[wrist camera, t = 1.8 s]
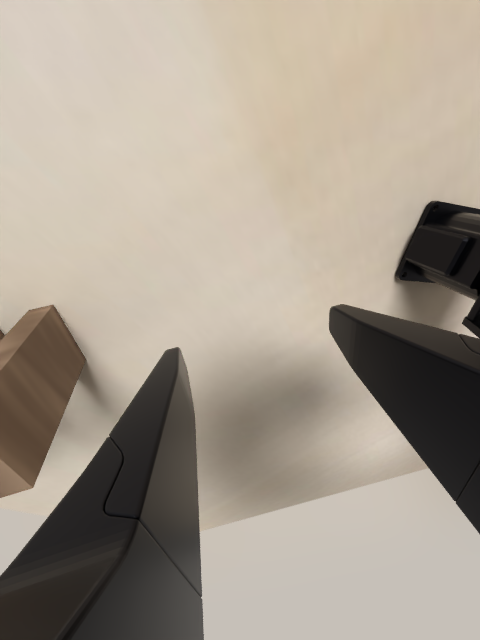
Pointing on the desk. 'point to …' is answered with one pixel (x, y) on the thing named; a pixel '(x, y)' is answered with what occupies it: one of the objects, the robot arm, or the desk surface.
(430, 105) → the desk surface
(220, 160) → the desk surface
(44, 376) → the domino
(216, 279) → the desk surface
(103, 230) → the desk surface
